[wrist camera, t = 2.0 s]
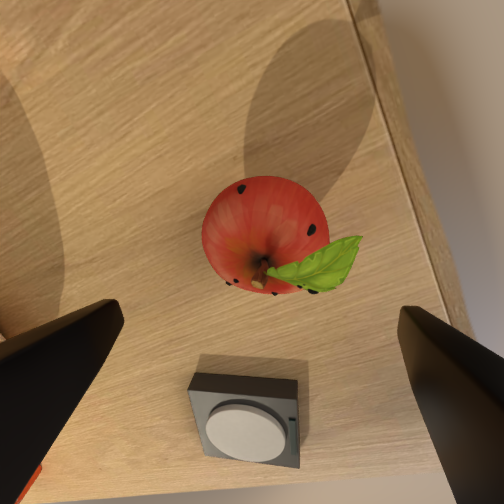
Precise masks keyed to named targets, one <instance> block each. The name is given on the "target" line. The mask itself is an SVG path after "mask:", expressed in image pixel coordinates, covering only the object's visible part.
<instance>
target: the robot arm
mask: <svg viewBox="0 0 504 504" xmlns="http://www.w3.org/2000/svg"><path fill="white" fill-rule="evenodd" d="M123 325H124V317H123V314H122V311H121V308H120V305H119V303H118V301H117V300H115V299H103V300H101V301H98V302H96V303H94V304H91V305H89V306H86V307H84V308H82V309H79V310H77V311H74V312H72V313H70V314H67V315H65V316H62V317H60V318H58V319H55V320H53V321H50V322H48V323H46V324H43V325H41V326H39V327H36V328H34V329H31V330H29V331H27V332H24V333H22V334H19V335H17V336H15V337H12V338H10V339H7V340H5V341H3V342H0V504H15V502H16V501H17V499H18V498H19V496H20V495H21V493H22V491H23V490H24V488H25V487H26V485H27V484H28V482H29V480H30V479H31V477H32V476H33V474H34V473H35V471H36V469H37V468H38V466H39V465H40V463H41V462H42V460H43V459H44V457H45V455H46V454H47V452H48V451H49V449H50V448H51V446H52V444H53V443H54V441H55V440H56V438H57V437H58V435H59V433H60V432H61V430H62V429H63V427H64V426H65V424H66V422H67V421H68V419H69V418H70V416H71V415H72V413H73V411H74V410H75V408H76V407H77V405H78V404H79V402H80V401H81V399H82V397H83V396H84V394H85V393H86V391H87V390H88V388H89V386H90V385H91V383H92V382H93V380H94V379H95V377H96V375H97V374H98V372H99V371H100V369H101V367H102V366H103V364H104V362H105V360H106V358H107V356H108V355H109V353H110V351H111V349H112V347H113V345H114V343H115V341H116V339H117V337H118V335H119V333H120V331H121V330H122V328H123ZM397 334H398V339H399V343H400V347H401V351H402V354H403V358H404V362H405V366H406V369H407V373H408V377H409V381H410V384H411V388H412V391H413V393H414V396H415V399H416V401H417V404H418V406H419V409H420V412H421V414H422V417H423V419H424V422H425V424H426V427H427V429H428V432H429V434H430V437H431V439H432V442H433V444H434V447H435V449H436V452H437V455H438V457H439V460H440V462H441V465H442V467H443V470H444V472H445V475H446V477H447V480H448V482H449V485H450V487H451V490H452V492H453V495H454V498H455V500H456V503H457V504H504V358H502V357H500V356H499V355H497V354H496V353H494V352H492V351H491V350H489V349H487V348H486V347H484V346H482V345H481V344H479V343H478V342H476V341H474V340H473V339H471V338H470V337H468V336H466V335H465V334H463V333H461V332H460V331H458V330H457V329H455V328H453V327H452V326H450V325H448V324H447V323H445V322H444V321H442V320H440V319H439V318H437V317H435V316H434V315H432V314H431V313H429V312H427V311H426V310H424V309H422V308H421V307H419V306H402V307H401V310H400V315H399V322H398V329H397Z"/></svg>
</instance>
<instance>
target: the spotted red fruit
mask: <svg viewBox="0 0 504 504" xmlns="http://www.w3.org/2000/svg"><path fill="white" fill-rule="evenodd" d="M362 237H363V236H351V237H345V238H342V239H339V240H336V241H334V242H332V243H330V241H329V229H328V225H327V220H326V217H325V215H324V213H323V211H322V209H321V207H320V205H319V203H318V202H317V201H316V199H315V198H314V197H313V196H312V194H311V193H310V192H308V191H307V190H306V189H305V188H303V187H302V186H301V185H299V184H297V183H295V182H293V181H291V180H288V179H284V178H280V177H274V176H257V177H251V178H247V179H243V180H240V181H238V182H236V183H234V184H232V185H230V186H229V187H227V188H226V189H224V190H223V191H222V192H221V193H220V194H219V195H218V196H217V197H216V198H215V200H214V201H213V203H212V204H211V206H210V207H209V209H208V211H207V213H206V216H205V218H204V221H203V226H202V244H203V248H204V251H205V254H206V256H207V258H208V260H209V262H210V264H211V265H212V267H213V269H214V270H215V271H216V273H217V274H218V275H219V276H220V277H221V278H223V279H224V280H225V281H226V284H227V285H229V286H230V285H234V286H237V287H239V288H242V289H244V290H248V291H252V292H257V293H263V294H273V295H274V296H276V295H277V294H287V293H294V292H298V291H302V290H308V292H309V293H311V294H318V293H319V292H327V291H330V290H333V289H336V288H335V286H337V285H339V284H342V283H343V282H344V280H345V278H346V277H347V275H348V273H349V271H350V269H351V267H352V264H353V262H354V259H355V257H356V255H357V252H358V250H359V247H358V244H359V242H360V241H361V239H362Z"/></svg>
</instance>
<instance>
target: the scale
mask: <svg viewBox="0 0 504 504" xmlns="http://www.w3.org/2000/svg"><path fill="white" fill-rule="evenodd" d="M187 391H188V395H189V398H190V402H191V406H192V409H193V413H194V417H195V420H196V424H197V428H198V432H199V435H200V439H201V443H202V446H203V450H204V454H205V456H211V457H218V458H226V459H233V460H240V461H247V462H255V463H262V464H269V465H276V466H284V467H291V468H298V469H300V434H299V407H298V381H297V380H284V379H271V378H258V377H245V376H232V375H219V374H206V373H195V374H194V376H193V378H192V380H191V383H190V385H189V387H188V389H187Z"/></svg>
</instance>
